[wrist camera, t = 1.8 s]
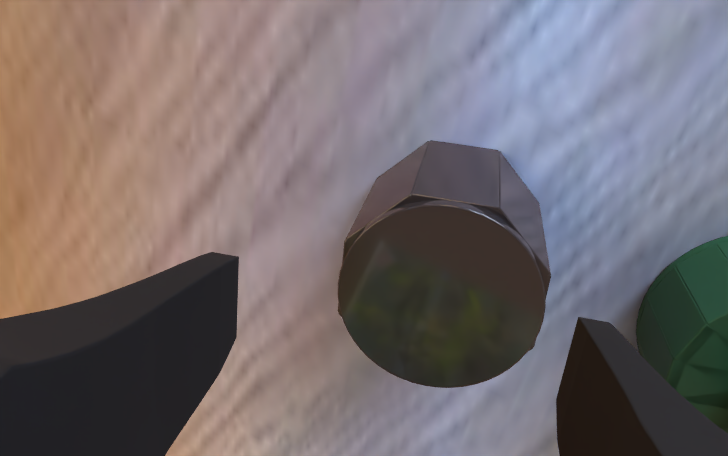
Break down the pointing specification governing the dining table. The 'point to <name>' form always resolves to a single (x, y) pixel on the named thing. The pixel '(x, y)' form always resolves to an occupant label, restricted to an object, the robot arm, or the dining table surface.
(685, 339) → the bottle
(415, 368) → the faceted brown jar
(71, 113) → the dining table surface
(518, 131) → the dining table surface
